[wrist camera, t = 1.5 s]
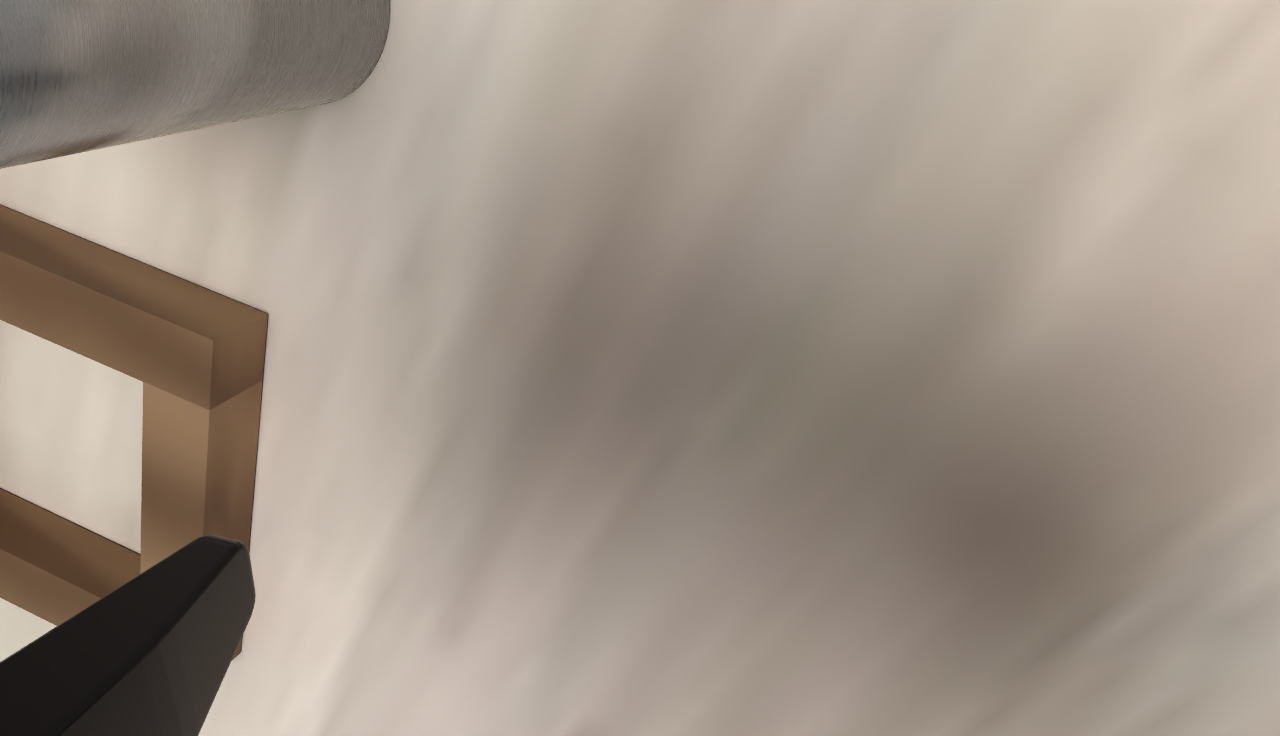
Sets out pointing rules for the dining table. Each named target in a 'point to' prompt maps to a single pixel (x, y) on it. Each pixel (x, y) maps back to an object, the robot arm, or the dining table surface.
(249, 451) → the holder
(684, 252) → the dining table surface
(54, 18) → the grey brushed cylinder
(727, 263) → the dining table surface
